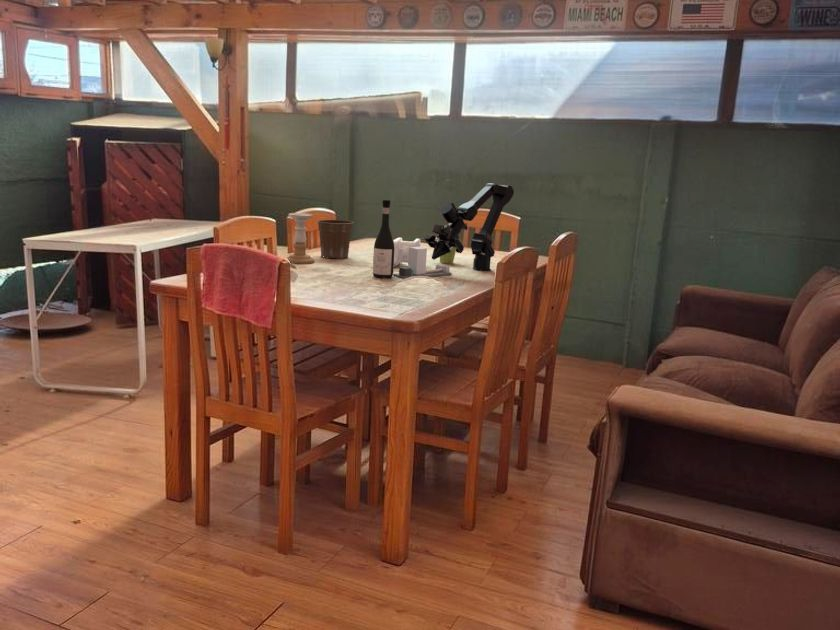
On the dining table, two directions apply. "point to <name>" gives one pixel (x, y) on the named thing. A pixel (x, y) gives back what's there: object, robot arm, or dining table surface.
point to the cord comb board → (438, 271)
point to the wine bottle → (384, 247)
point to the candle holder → (300, 239)
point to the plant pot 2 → (448, 257)
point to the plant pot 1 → (335, 237)
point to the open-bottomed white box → (417, 259)
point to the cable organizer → (403, 250)
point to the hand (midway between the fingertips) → (432, 258)
